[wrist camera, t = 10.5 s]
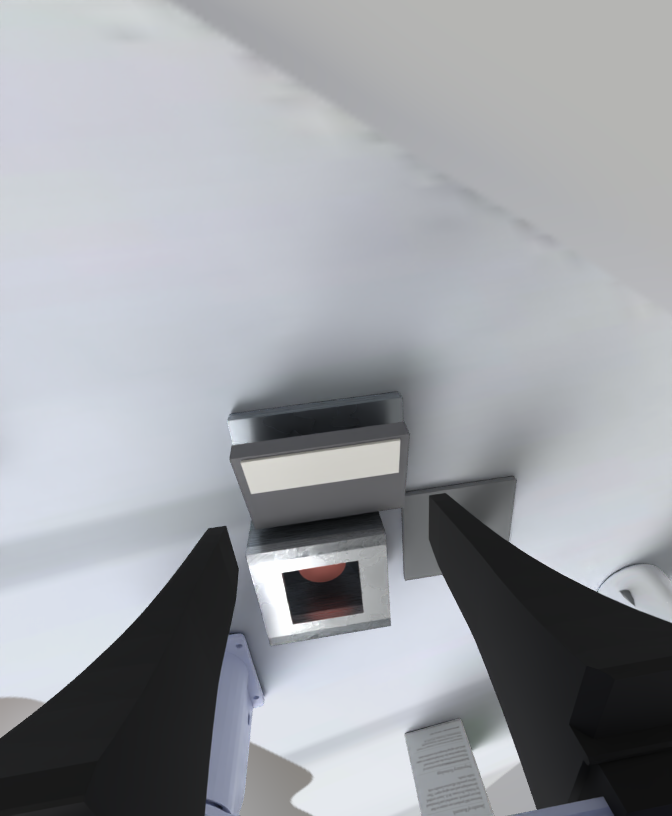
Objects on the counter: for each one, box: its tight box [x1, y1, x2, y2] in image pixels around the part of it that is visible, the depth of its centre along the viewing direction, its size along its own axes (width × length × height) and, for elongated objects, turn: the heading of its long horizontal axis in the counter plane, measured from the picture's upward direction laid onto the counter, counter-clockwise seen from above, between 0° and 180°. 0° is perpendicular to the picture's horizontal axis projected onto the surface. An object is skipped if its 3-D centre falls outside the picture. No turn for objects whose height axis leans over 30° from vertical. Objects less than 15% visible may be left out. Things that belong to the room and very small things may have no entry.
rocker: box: [230, 422, 410, 530], centre depth 20 cm, size 6×9×1 cm, turn 96°
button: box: [299, 562, 346, 582], centre depth 24 cm, size 3×3×2 cm
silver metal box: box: [227, 392, 403, 646], centre depth 22 cm, size 15×10×4 cm, turn 6°
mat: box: [402, 476, 517, 581], centre depth 26 cm, size 8×8×1 cm
